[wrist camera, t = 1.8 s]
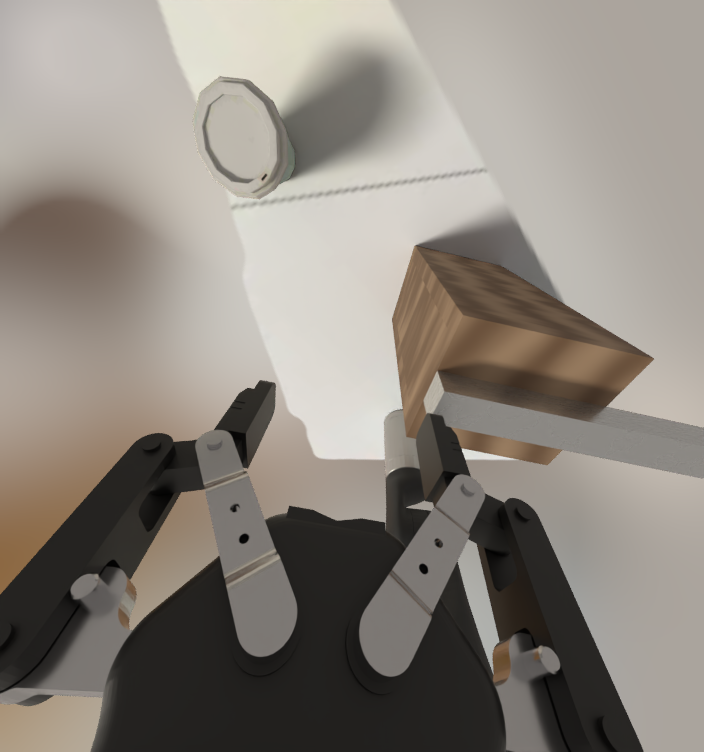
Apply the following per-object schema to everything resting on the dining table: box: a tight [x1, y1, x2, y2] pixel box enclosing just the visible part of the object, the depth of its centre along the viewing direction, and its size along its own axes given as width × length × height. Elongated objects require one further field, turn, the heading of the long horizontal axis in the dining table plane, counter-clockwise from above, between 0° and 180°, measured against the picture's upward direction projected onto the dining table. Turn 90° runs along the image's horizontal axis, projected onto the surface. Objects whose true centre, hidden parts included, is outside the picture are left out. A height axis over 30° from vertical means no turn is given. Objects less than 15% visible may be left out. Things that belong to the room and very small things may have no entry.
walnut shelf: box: [392, 246, 654, 465], centre depth 38 cm, size 16×14×32 cm
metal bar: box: [423, 371, 704, 478], centre depth 24 cm, size 26×4×3 cm, turn 79°
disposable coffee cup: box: [192, 76, 295, 199], centre depth 35 cm, size 11×11×15 cm
